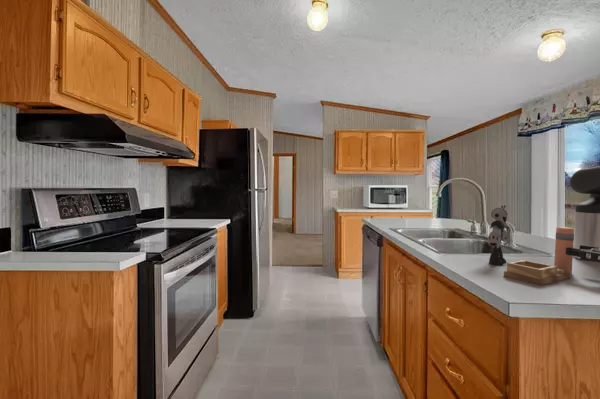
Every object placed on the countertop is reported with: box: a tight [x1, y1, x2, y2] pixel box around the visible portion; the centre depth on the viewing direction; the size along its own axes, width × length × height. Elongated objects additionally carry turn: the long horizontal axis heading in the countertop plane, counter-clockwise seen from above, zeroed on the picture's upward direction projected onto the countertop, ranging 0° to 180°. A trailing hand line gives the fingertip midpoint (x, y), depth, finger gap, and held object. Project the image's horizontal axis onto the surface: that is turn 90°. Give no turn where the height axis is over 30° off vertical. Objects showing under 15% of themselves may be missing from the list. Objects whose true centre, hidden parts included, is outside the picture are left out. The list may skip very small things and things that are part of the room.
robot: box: [487, 205, 510, 267], centre depth 119 cm, size 20×5×20 cm, turn 139°
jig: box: [503, 259, 571, 286], centre depth 102 cm, size 16×10×4 cm, turn 119°
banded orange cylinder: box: [553, 226, 575, 276], centre depth 107 cm, size 4×4×14 cm
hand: (573, 249), depth 105 cm, fingers open, 8 cm apart
